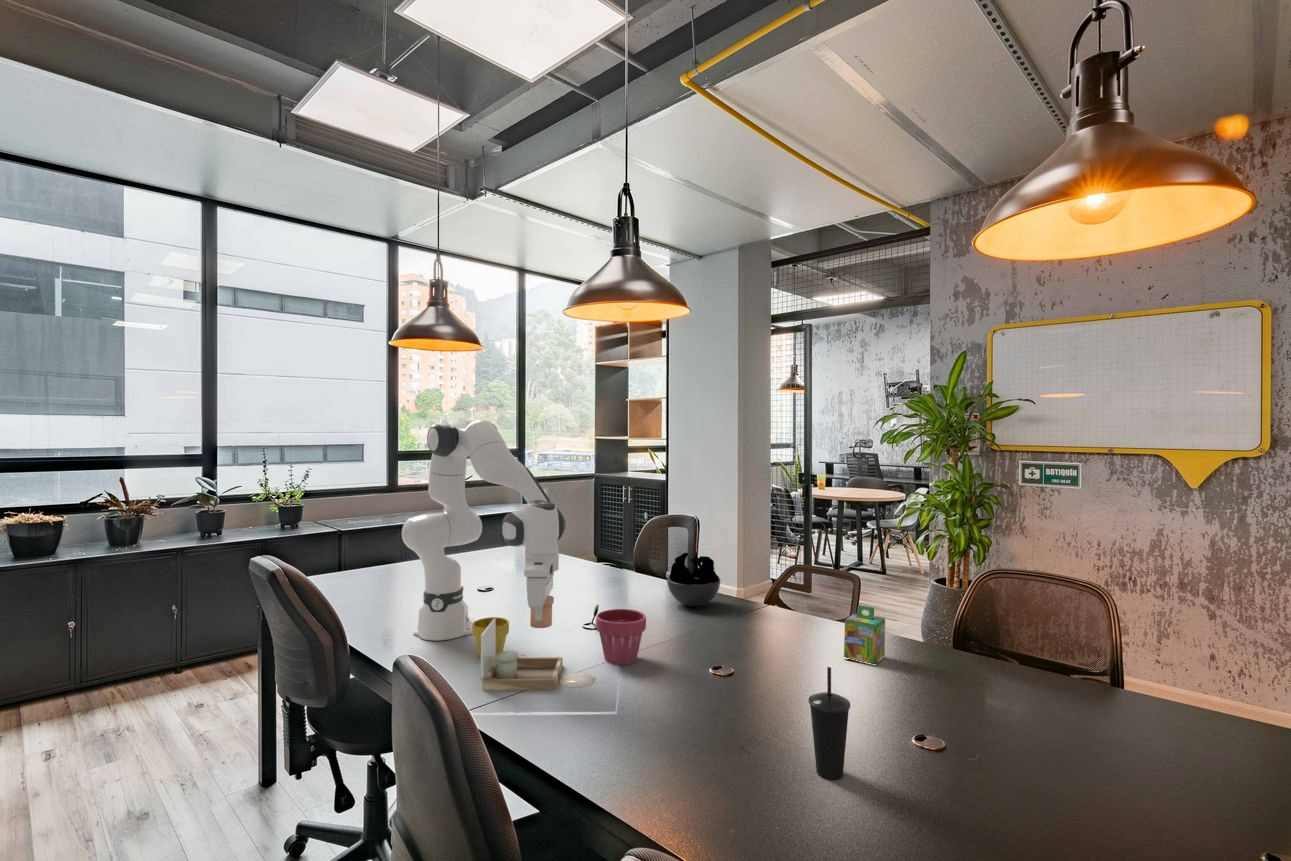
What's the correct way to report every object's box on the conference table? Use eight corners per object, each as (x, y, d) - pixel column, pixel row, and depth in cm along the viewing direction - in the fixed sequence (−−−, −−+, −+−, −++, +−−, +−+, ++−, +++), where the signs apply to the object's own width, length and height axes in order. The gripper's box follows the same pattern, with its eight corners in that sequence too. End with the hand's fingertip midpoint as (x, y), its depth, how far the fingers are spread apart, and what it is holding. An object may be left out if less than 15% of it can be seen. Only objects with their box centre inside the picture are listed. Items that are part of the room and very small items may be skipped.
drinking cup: (803, 763, 121) (802, 660, 122) (841, 761, 122) (840, 659, 122) (817, 785, 114) (816, 676, 114) (857, 783, 114) (857, 674, 115)
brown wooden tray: (496, 668, 171) (496, 657, 171) (562, 668, 171) (562, 657, 171) (482, 692, 155) (482, 680, 155) (554, 692, 155) (554, 680, 155)
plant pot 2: (653, 655, 181) (653, 611, 181) (632, 672, 168) (632, 625, 168) (610, 648, 187) (610, 606, 187) (586, 664, 174) (586, 618, 174)
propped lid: (493, 660, 170) (493, 618, 170) (496, 660, 170) (496, 618, 170) (480, 680, 156) (480, 635, 156) (484, 680, 156) (484, 635, 156)
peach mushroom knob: (531, 620, 166) (531, 594, 166) (555, 621, 167) (555, 595, 166) (526, 628, 160) (527, 601, 160) (551, 628, 160) (552, 601, 160)
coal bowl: (723, 613, 224) (723, 561, 224) (667, 613, 224) (667, 560, 224) (717, 598, 244) (717, 550, 244) (666, 598, 244) (666, 550, 244)
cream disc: (561, 675, 166) (561, 672, 166) (595, 675, 166) (595, 672, 166) (557, 689, 157) (557, 686, 157) (593, 689, 157) (593, 686, 157)
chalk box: (843, 659, 177) (843, 608, 178) (853, 650, 185) (853, 601, 185) (876, 667, 172) (876, 613, 172) (885, 657, 179) (885, 606, 179)
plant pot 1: (499, 663, 175) (499, 628, 175) (465, 660, 177) (465, 626, 177) (514, 651, 185) (514, 618, 185) (482, 648, 187) (482, 616, 187)
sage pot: (498, 673, 166) (498, 650, 166) (520, 673, 166) (520, 650, 166) (493, 682, 160) (493, 658, 160) (516, 682, 160) (516, 658, 160)
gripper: (536, 554, 174) (535, 604, 174) (522, 571, 153) (522, 627, 153) (558, 555, 174) (558, 604, 174) (548, 572, 153) (547, 627, 153)
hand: (541, 615), depth 163 cm, fingers closed on peach mushroom knob, 6 cm apart
